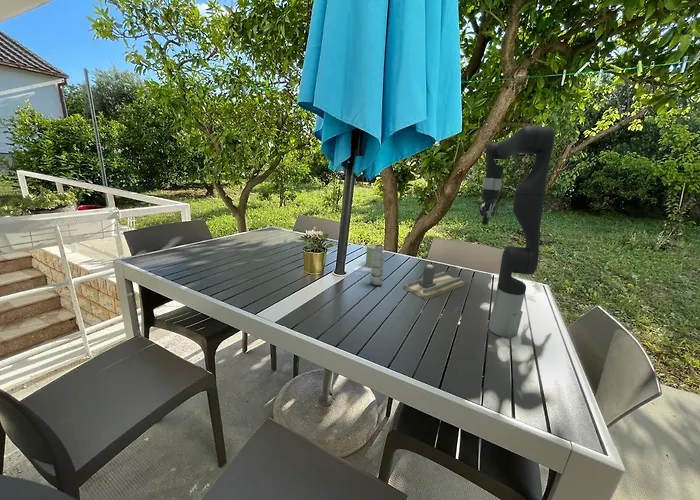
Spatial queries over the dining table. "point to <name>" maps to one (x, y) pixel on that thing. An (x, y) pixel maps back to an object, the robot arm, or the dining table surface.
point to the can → (369, 254)
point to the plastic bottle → (377, 265)
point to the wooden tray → (442, 286)
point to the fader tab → (428, 276)
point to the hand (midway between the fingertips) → (484, 224)
